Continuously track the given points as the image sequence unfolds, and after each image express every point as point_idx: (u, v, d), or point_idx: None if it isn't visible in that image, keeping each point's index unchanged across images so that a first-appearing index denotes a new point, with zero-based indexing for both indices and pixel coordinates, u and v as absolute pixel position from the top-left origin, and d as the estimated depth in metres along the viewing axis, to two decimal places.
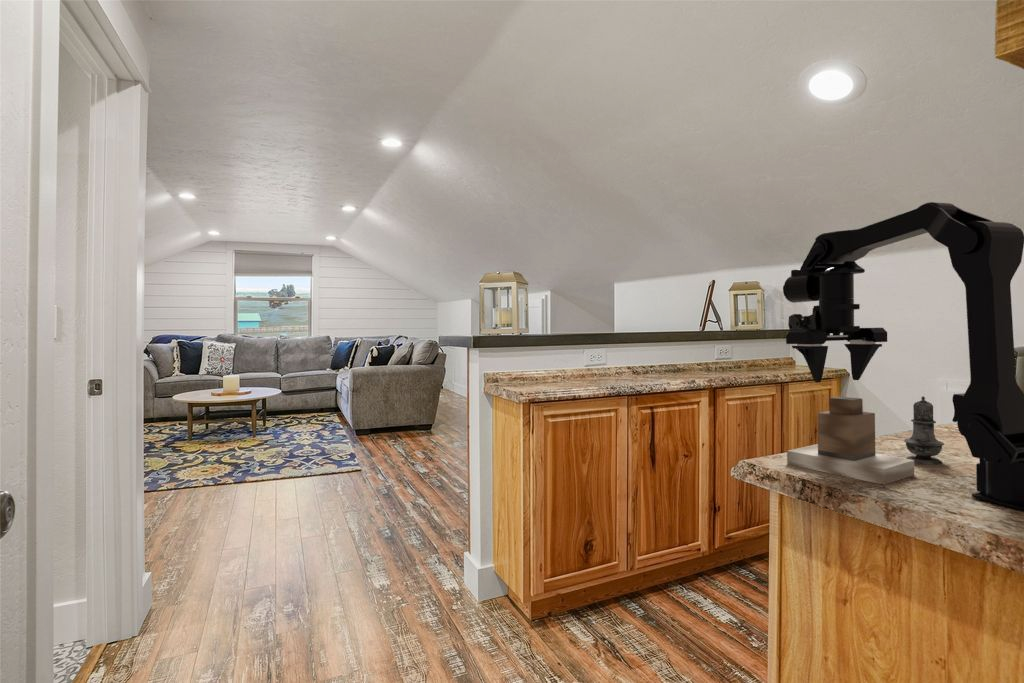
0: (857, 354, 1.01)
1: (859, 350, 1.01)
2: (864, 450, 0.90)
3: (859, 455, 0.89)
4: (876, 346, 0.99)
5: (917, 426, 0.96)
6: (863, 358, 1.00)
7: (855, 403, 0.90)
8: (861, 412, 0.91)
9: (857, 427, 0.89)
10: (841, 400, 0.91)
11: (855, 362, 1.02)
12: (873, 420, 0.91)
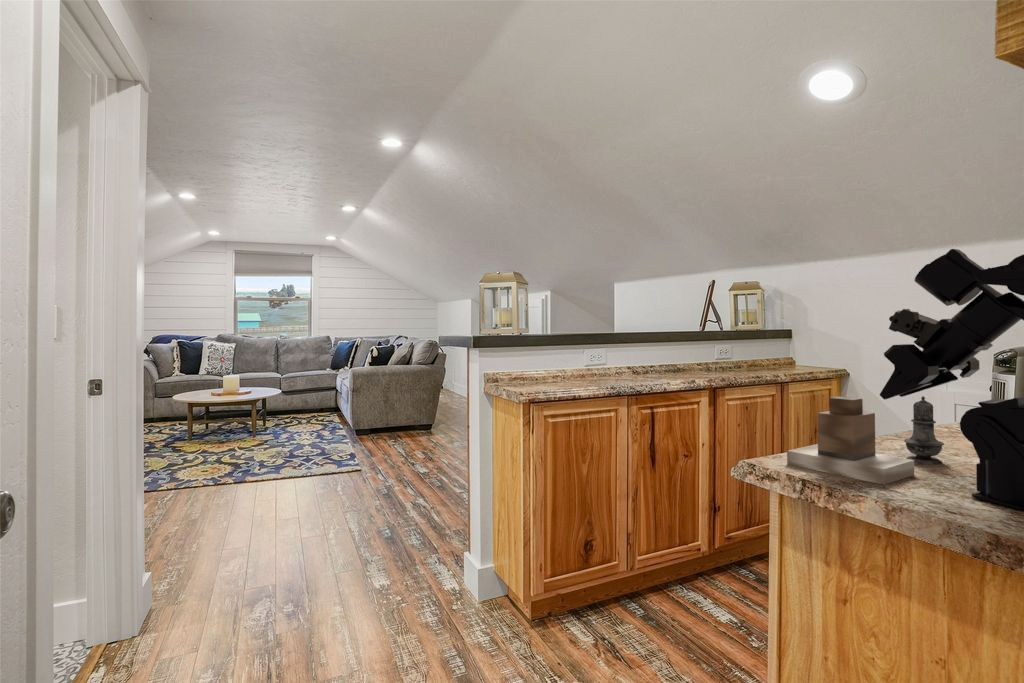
0: None
1: None
2: (864, 450, 0.90)
3: (859, 455, 0.89)
4: None
5: (917, 426, 0.96)
6: None
7: (855, 403, 0.90)
8: (861, 412, 0.91)
9: (857, 427, 0.89)
10: (841, 400, 0.91)
11: None
12: (873, 420, 0.91)
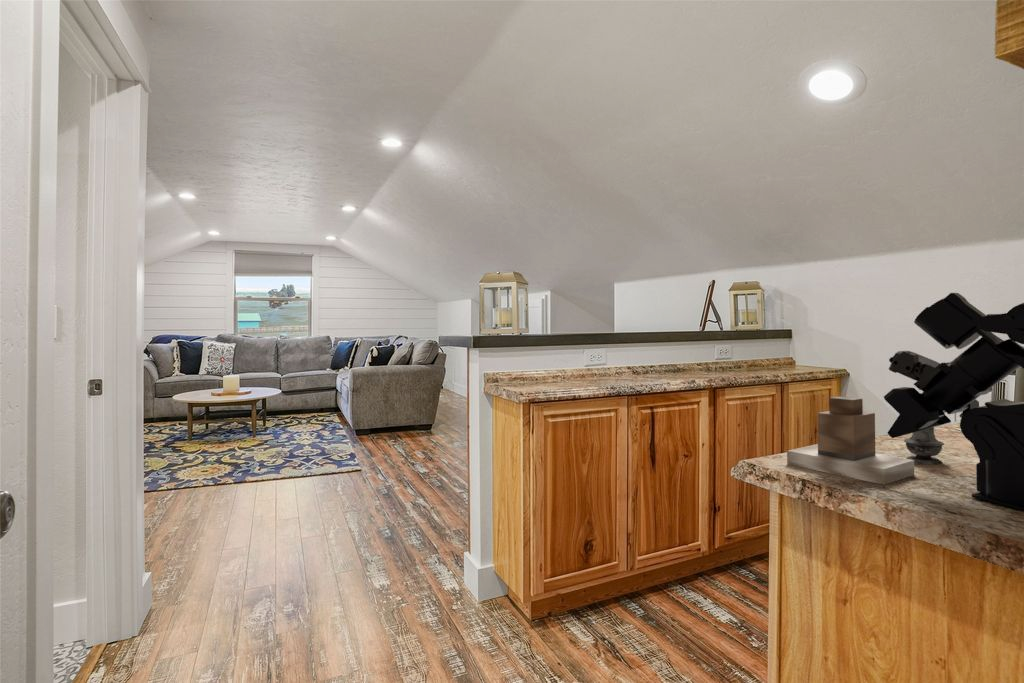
0: None
1: None
2: (864, 450, 0.90)
3: (859, 455, 0.89)
4: (944, 423, 0.81)
5: None
6: None
7: (855, 403, 0.90)
8: (861, 412, 0.91)
9: (857, 427, 0.89)
10: (841, 400, 0.91)
11: None
12: (873, 420, 0.91)
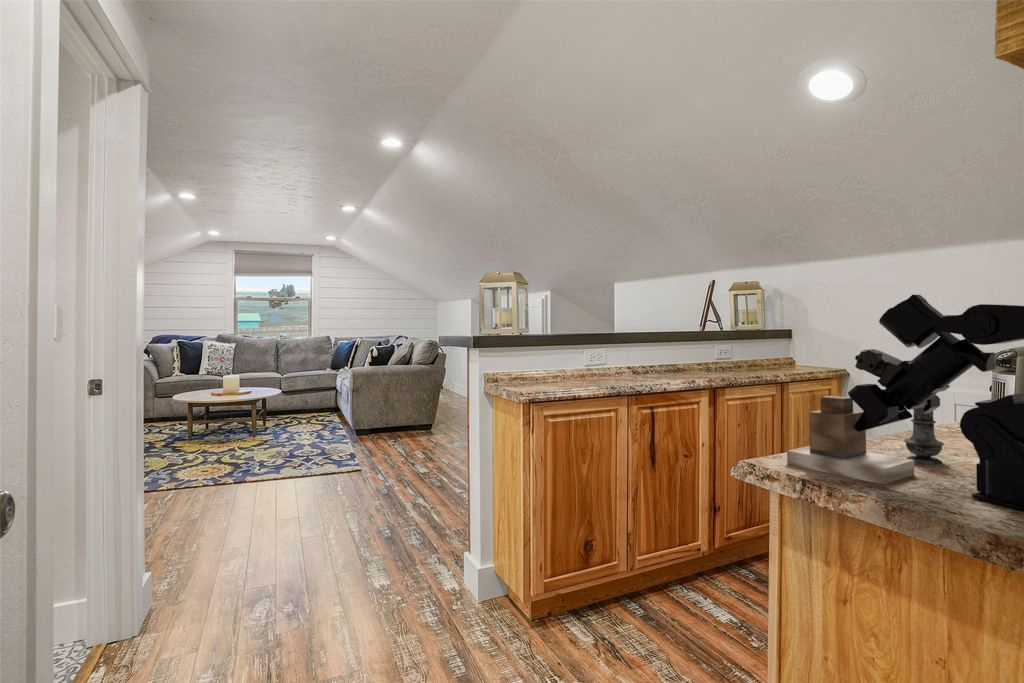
0: None
1: None
2: (855, 448, 0.91)
3: (850, 453, 0.90)
4: (906, 418, 0.86)
5: (917, 426, 0.96)
6: None
7: (845, 402, 0.91)
8: (852, 411, 0.92)
9: (848, 425, 0.90)
10: (832, 399, 0.93)
11: None
12: None
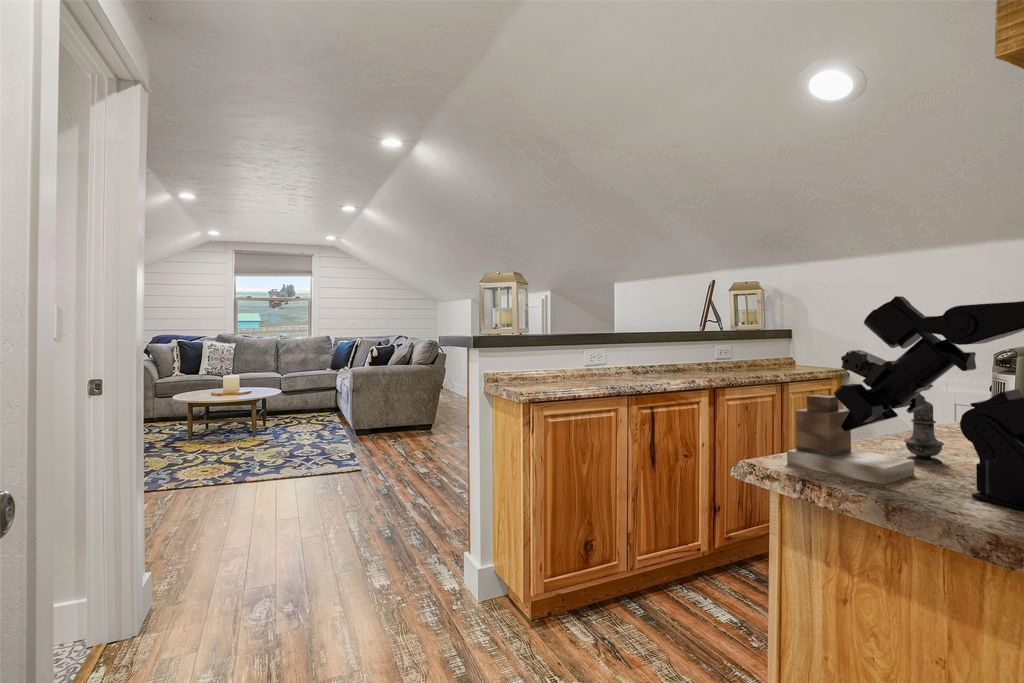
0: None
1: None
2: (840, 446, 0.93)
3: (835, 451, 0.92)
4: None
5: (917, 426, 0.96)
6: None
7: (831, 401, 0.94)
8: (837, 409, 0.95)
9: (833, 423, 0.92)
10: (818, 398, 0.95)
11: None
12: None
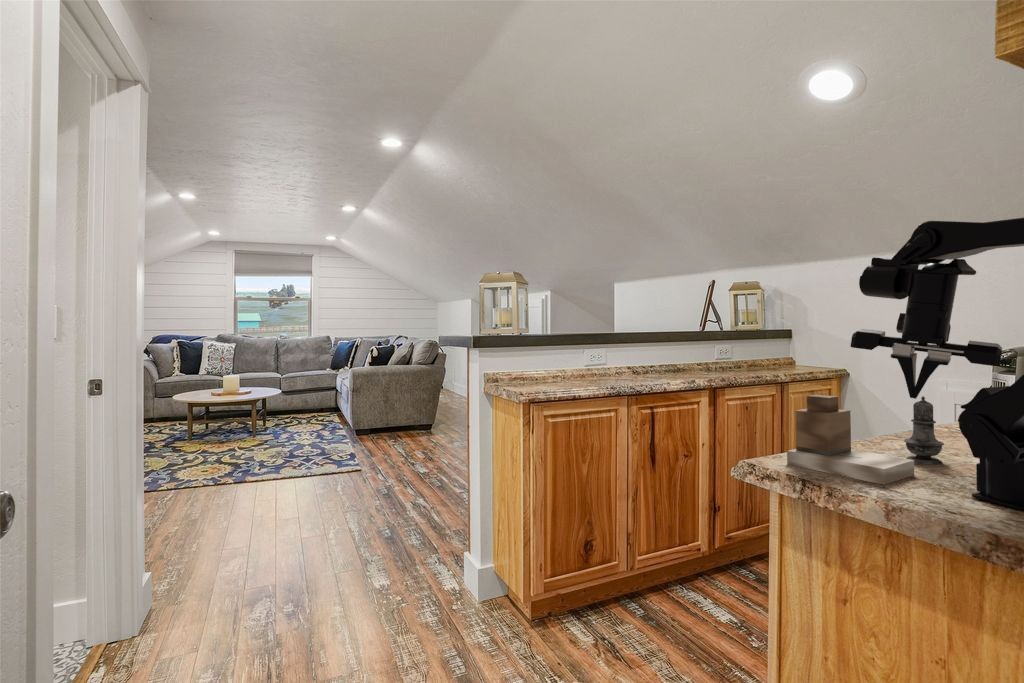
0: None
1: None
2: (840, 446, 0.93)
3: (835, 451, 0.92)
4: (933, 363, 0.81)
5: (917, 426, 0.96)
6: None
7: (831, 401, 0.94)
8: (837, 409, 0.95)
9: (833, 423, 0.92)
10: (818, 398, 0.95)
11: None
12: (849, 417, 0.95)
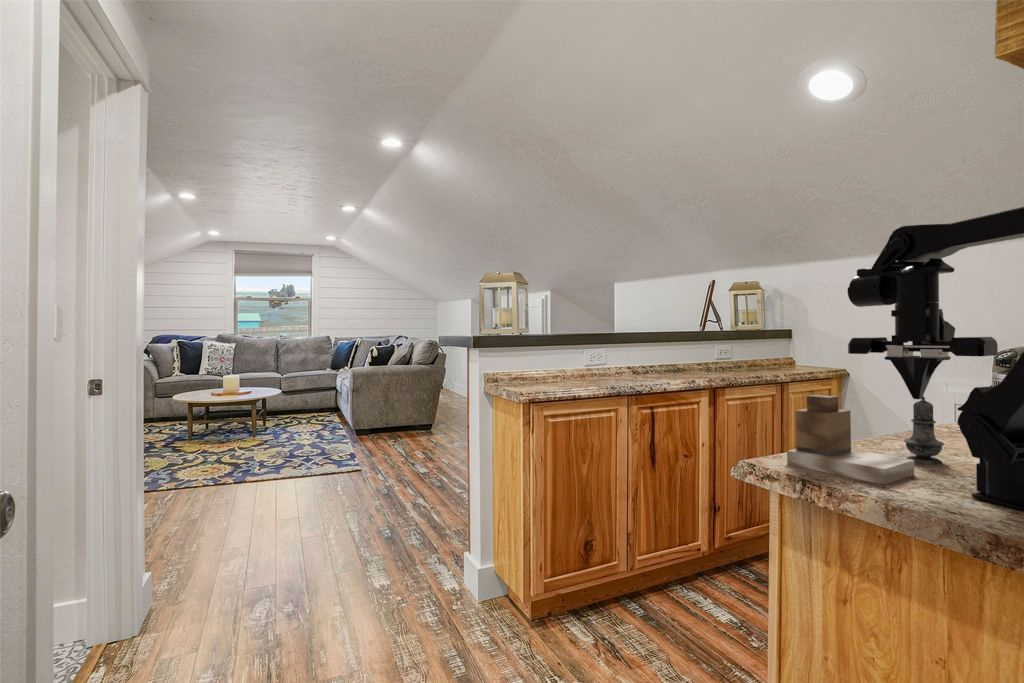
0: None
1: None
2: (840, 446, 0.93)
3: (835, 451, 0.92)
4: (922, 360, 0.83)
5: (917, 426, 0.96)
6: None
7: (831, 401, 0.94)
8: (837, 409, 0.95)
9: (833, 423, 0.92)
10: (818, 398, 0.95)
11: None
12: (849, 417, 0.95)
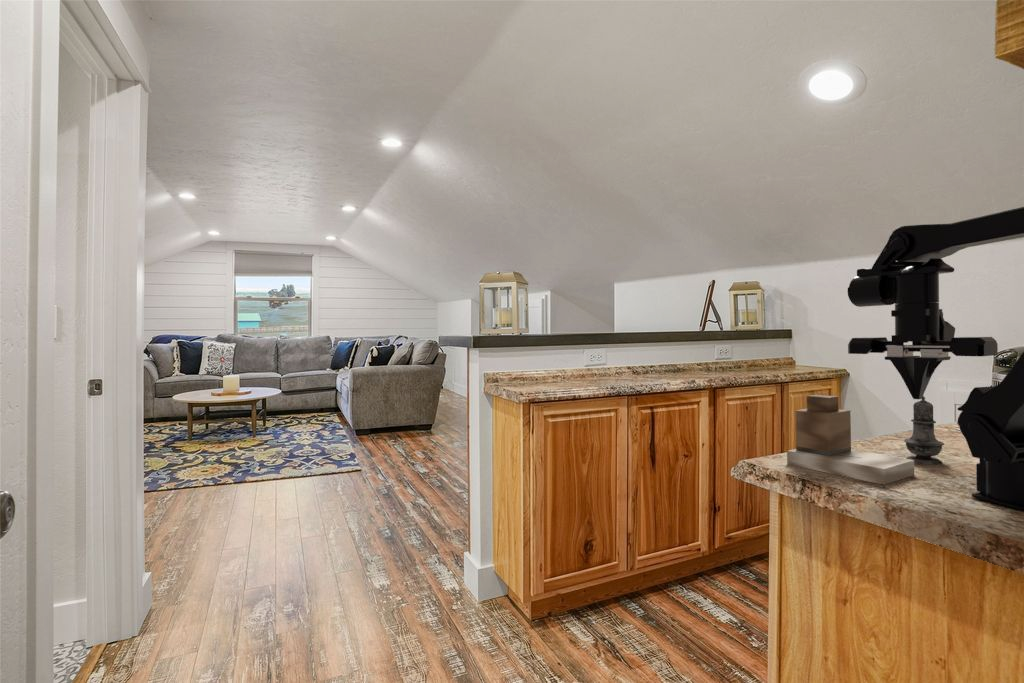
0: None
1: None
2: (840, 446, 0.93)
3: (835, 451, 0.92)
4: (922, 360, 0.83)
5: (917, 426, 0.96)
6: None
7: (831, 401, 0.94)
8: (837, 409, 0.95)
9: (833, 423, 0.92)
10: (818, 398, 0.95)
11: None
12: (849, 417, 0.95)
